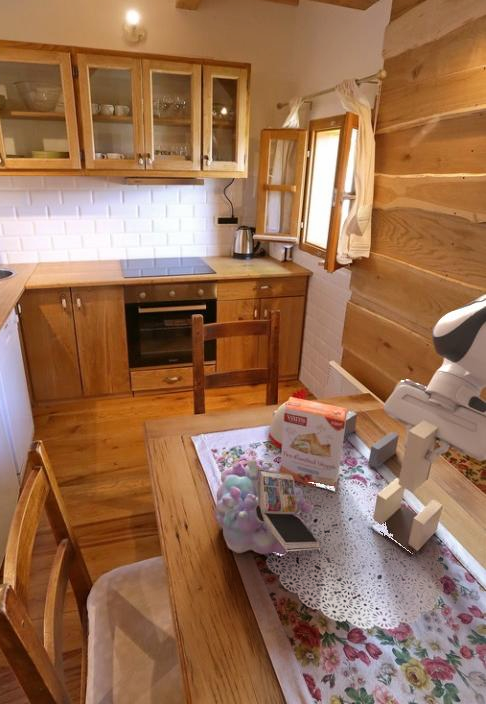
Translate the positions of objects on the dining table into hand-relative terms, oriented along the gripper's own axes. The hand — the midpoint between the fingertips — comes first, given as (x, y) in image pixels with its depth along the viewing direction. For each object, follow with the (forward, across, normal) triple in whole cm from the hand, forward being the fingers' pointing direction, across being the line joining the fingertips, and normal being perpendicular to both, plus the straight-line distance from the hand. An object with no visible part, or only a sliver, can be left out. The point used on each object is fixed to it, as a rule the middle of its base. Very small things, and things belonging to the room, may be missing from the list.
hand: (417, 454), depth 81 cm
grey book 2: (+1, -15, +27) cm, 31 cm away
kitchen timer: (+10, -37, +19) cm, 43 cm away
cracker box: (+17, -23, +12) cm, 31 cm away
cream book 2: (+13, +4, +14) cm, 19 cm away
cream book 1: (+13, -4, +14) cm, 19 cm away
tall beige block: (+5, 0, +6) cm, 7 cm away
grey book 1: (+2, -28, +27) cm, 39 cm away
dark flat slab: (+14, 0, +15) cm, 20 cm away
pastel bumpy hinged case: (+31, -18, -2) cm, 36 cm away
